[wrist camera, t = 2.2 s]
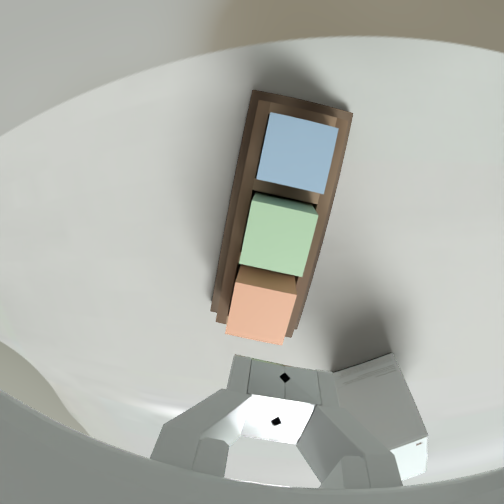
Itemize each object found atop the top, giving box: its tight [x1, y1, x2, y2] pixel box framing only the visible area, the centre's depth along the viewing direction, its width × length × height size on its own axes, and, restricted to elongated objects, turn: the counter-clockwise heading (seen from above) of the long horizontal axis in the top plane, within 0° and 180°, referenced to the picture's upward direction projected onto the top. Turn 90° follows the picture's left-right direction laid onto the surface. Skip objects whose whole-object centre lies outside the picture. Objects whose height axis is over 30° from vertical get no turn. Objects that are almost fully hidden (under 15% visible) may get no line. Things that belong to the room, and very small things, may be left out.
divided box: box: [210, 90, 353, 338], centre depth 30 cm, size 10×24×6 cm, turn 168°
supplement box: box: [333, 353, 428, 481], centre depth 32 cm, size 9×9×15 cm
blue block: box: [256, 112, 339, 194], centre depth 24 cm, size 5×5×5 cm
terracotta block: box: [225, 264, 297, 345], centre depth 28 cm, size 5×5×5 cm
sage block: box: [239, 192, 318, 277], centre depth 26 cm, size 5×5×5 cm
